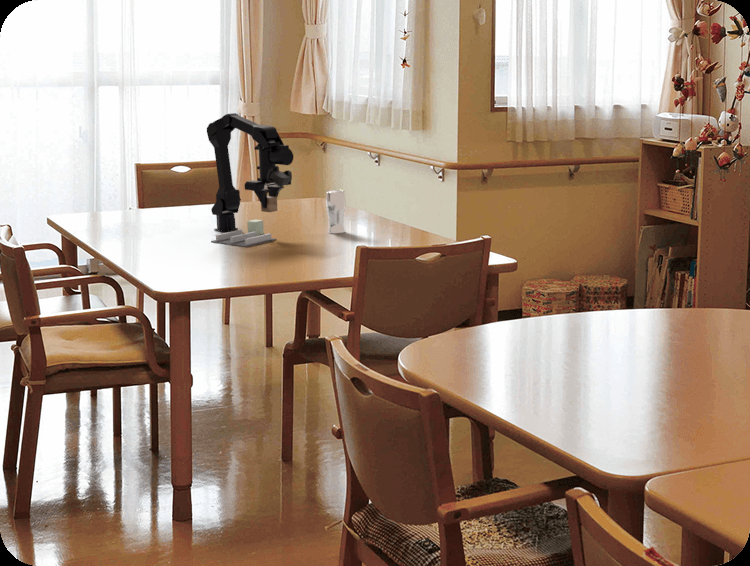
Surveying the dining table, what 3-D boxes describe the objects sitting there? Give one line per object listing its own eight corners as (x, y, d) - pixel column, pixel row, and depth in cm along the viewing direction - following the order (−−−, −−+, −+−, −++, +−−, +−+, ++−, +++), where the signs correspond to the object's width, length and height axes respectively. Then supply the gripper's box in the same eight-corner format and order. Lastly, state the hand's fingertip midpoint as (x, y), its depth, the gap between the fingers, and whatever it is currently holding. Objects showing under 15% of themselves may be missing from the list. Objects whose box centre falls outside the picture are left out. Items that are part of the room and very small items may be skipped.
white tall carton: (343, 234, 342) (342, 192, 338) (324, 233, 343) (323, 192, 339) (348, 230, 348) (347, 189, 345) (329, 230, 350) (328, 189, 346)
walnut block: (261, 211, 335) (260, 197, 334) (268, 209, 339) (268, 195, 337) (269, 212, 333) (269, 198, 332) (277, 210, 336) (276, 196, 335)
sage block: (248, 234, 344) (247, 221, 343) (255, 232, 347) (254, 219, 346) (256, 235, 342) (255, 222, 341) (263, 233, 345) (263, 220, 344)
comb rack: (210, 242, 331) (210, 235, 331) (241, 235, 343) (240, 228, 342) (246, 247, 321) (246, 240, 321) (276, 239, 333) (276, 233, 333)
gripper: (267, 167, 320) (268, 213, 324) (302, 161, 335) (303, 205, 339) (242, 165, 326) (244, 210, 330) (278, 160, 341) (279, 203, 345)
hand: (269, 207), depth 336 cm, fingers closed on walnut block, 4 cm apart
